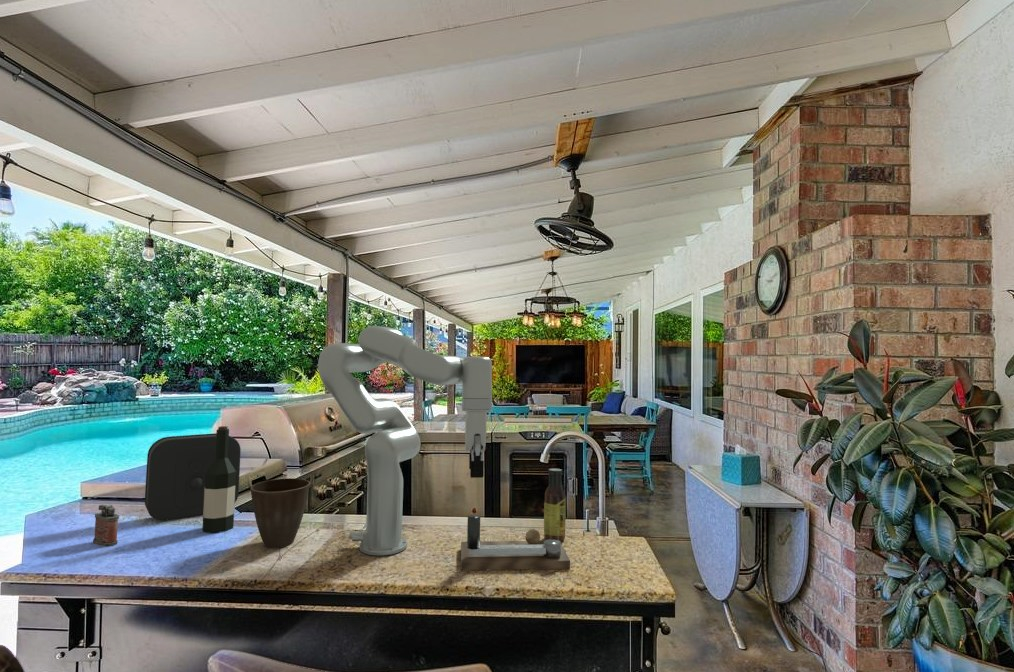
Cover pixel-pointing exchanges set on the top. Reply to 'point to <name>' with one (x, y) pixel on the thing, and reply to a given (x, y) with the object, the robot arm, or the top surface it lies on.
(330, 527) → the top surface
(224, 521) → the wine bottle
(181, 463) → the speaker
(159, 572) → the top surface
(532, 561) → the board
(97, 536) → the lighter
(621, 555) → the top surface
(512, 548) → the lever
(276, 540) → the plant pot
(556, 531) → the sauce bottle
